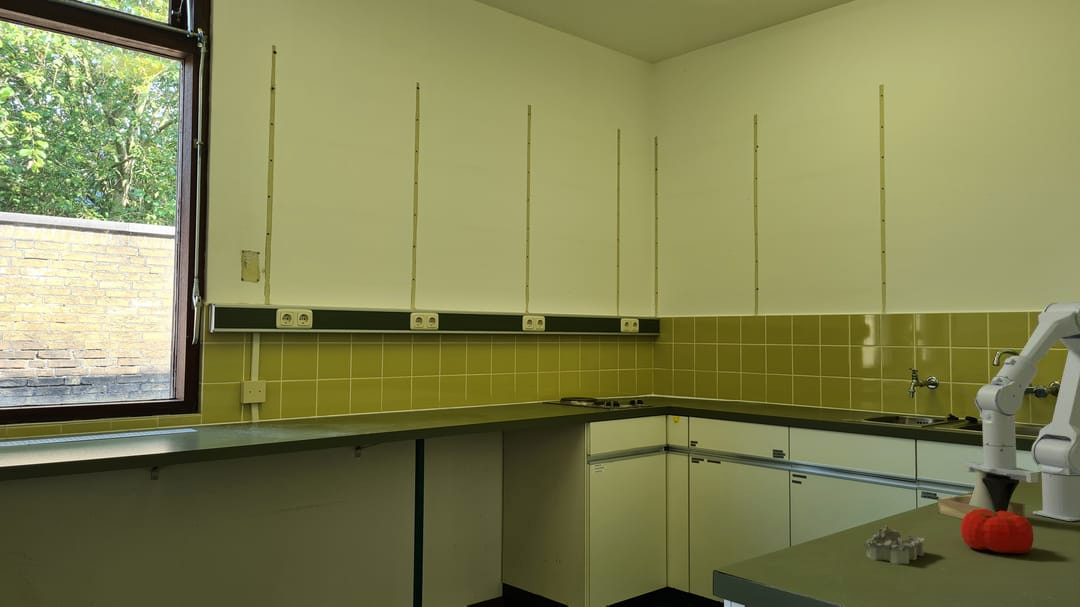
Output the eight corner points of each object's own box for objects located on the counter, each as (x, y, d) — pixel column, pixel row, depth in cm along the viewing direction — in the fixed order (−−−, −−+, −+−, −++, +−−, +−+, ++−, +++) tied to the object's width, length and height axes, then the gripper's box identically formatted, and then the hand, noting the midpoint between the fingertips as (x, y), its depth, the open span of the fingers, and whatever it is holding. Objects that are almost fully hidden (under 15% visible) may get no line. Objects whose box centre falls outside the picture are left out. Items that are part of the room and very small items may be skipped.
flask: (995, 513, 167) (993, 465, 167) (1013, 520, 159) (1010, 470, 160) (959, 513, 167) (957, 465, 168) (975, 520, 160) (973, 469, 161)
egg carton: (886, 547, 141) (886, 524, 141) (931, 555, 136) (930, 531, 136) (858, 558, 134) (858, 533, 134) (904, 567, 128) (903, 541, 129)
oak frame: (976, 508, 172) (975, 494, 172) (1025, 519, 161) (1024, 504, 162) (937, 513, 167) (937, 498, 168) (985, 524, 157) (985, 508, 157)
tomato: (960, 540, 145) (959, 504, 145) (1031, 547, 140) (1029, 509, 140) (962, 553, 136) (961, 514, 136) (1037, 561, 131) (1036, 521, 131)
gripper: (953, 441, 166) (955, 508, 165) (1019, 450, 153) (1021, 522, 152) (978, 440, 169) (979, 505, 168) (1044, 448, 155) (1046, 519, 155)
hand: (1001, 513), depth 160 cm, fingers closed, pressing on flask
